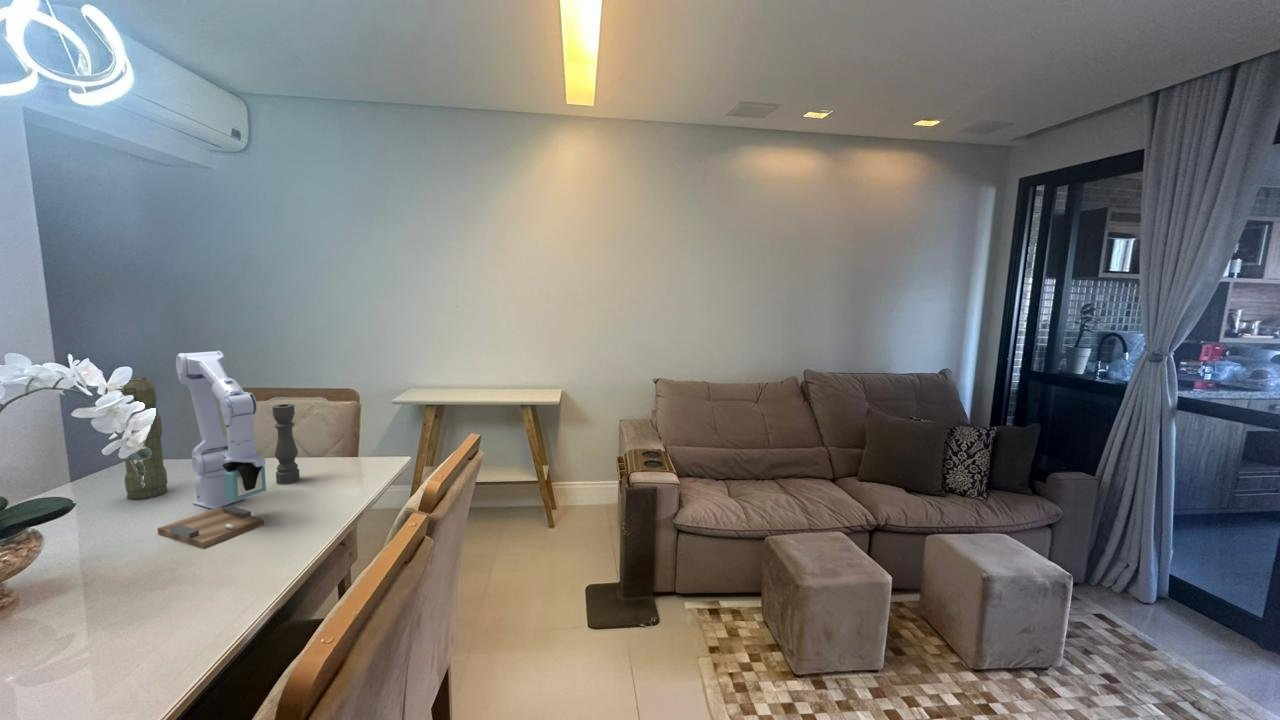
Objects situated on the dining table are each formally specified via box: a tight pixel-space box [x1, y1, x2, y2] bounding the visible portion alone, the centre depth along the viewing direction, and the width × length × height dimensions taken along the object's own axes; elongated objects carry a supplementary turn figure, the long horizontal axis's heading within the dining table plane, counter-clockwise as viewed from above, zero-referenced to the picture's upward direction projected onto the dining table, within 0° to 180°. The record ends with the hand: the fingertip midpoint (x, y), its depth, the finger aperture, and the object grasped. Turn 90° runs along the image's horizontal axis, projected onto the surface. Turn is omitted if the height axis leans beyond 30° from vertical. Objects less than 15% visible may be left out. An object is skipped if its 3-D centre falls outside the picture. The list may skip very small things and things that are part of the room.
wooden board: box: [157, 505, 265, 549], centre depth 131 cm, size 18×14×3 cm
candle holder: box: [272, 403, 301, 485], centre depth 162 cm, size 6×6×25 cm
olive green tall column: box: [121, 377, 169, 501], centre depth 148 cm, size 9×12×35 cm
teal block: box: [224, 465, 267, 501], centre depth 136 cm, size 4×8×7 cm, turn 160°
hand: (245, 488), depth 136 cm, fingers closed on teal block, 3 cm apart
